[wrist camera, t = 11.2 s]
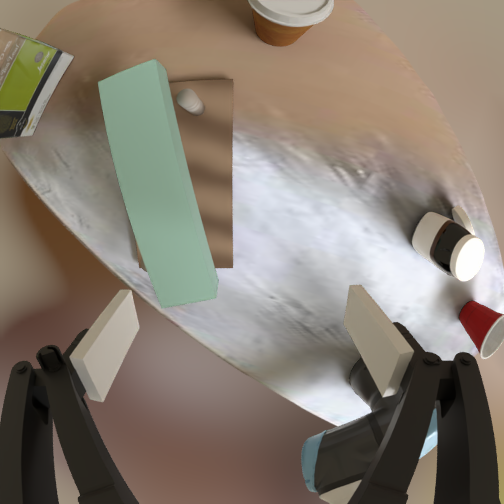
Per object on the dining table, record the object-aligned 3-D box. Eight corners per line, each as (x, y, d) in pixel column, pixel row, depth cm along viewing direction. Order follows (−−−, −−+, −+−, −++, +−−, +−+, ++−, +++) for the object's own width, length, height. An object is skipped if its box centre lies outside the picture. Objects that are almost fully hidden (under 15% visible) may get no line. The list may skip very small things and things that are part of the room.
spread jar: (399, 241, 41) (441, 269, 30) (430, 183, 38) (477, 197, 27) (438, 268, 43) (475, 297, 33) (465, 217, 40) (507, 237, 29)
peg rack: (233, 263, 41) (231, 296, 32) (142, 263, 40) (120, 293, 31) (233, 81, 32) (231, 60, 23) (133, 90, 31) (104, 76, 22)
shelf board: (218, 280, 31) (216, 298, 28) (169, 290, 31) (161, 308, 28) (165, 69, 23) (155, 58, 19) (114, 89, 23) (97, 82, 19)
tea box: (45, 42, 25) (-8, 23, 11) (76, 57, 28) (20, 33, 14) (6, 117, 29) (-51, 120, 15) (33, 138, 32) (-29, 144, 18)
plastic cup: (486, 303, 48) (515, 328, 37) (459, 336, 51) (485, 365, 40) (475, 281, 45) (509, 307, 34) (446, 317, 48) (476, 349, 37)
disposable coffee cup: (229, 33, 29) (226, -8, 18) (269, -5, 26) (280, -49, 15) (286, 68, 31) (306, 37, 20) (323, 28, 29) (352, -8, 18)
